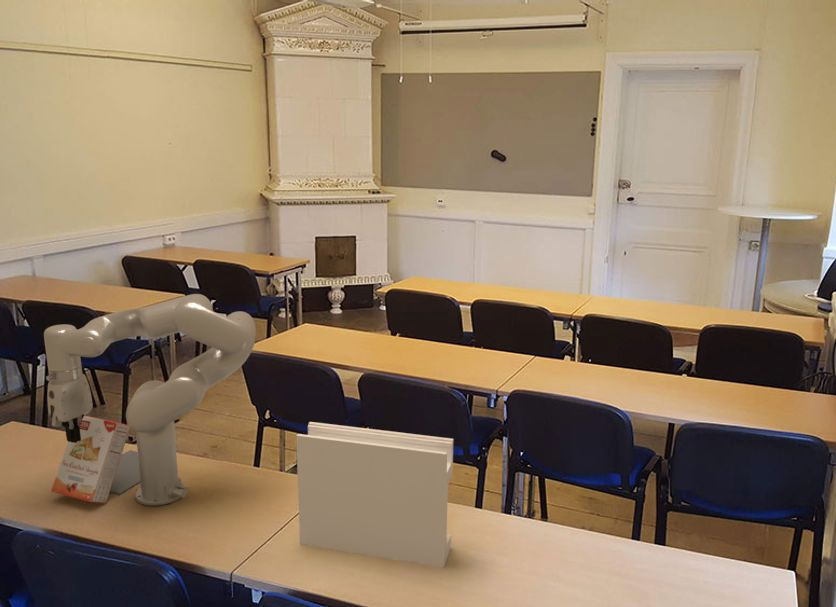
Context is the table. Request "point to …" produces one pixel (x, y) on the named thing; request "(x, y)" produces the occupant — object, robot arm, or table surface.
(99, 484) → the cracker box
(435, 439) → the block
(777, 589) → the table surface
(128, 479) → the mat
